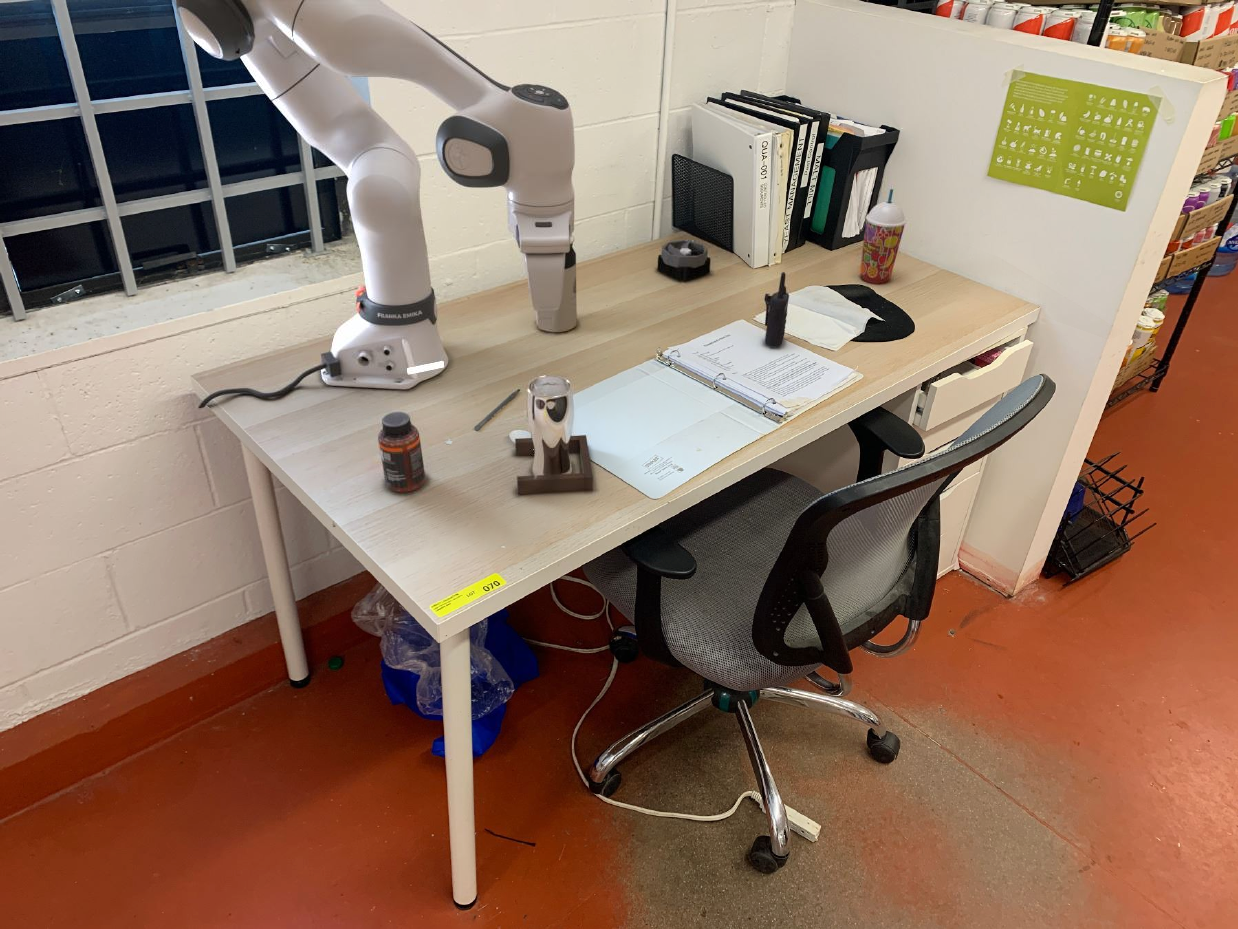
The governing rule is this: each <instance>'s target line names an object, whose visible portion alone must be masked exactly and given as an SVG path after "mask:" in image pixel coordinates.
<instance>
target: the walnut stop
mask: <svg viewBox="0 0 1238 929" xmlns="http://www.w3.org/2000/svg"><path fill="white" fill-rule="evenodd" d="M514 444H515V445H514V446H515V456H519V457H520V456H534V450H533V449H534V446H533V442H532V438H531V437H522V438H521V437H519V438H514ZM574 453H579V459H580V468H581V472H576V473H575V472H571V474H554V475H536V476H535V475H521V476H519V475H518V476H516V486H517V494H518V495H531V494H548V493H549V494H551V493H567V492H568V493H569V492H581V491H582V492H583V491H585V492H587V491H594V474H593V469H592V463H591V457H590V451H589V444H588V439H587V434H579V435H571V438H570V444H569V454H574Z"/></svg>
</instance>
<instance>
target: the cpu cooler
mask: <svg viewBox="0 0 1238 929" xmlns="http://www.w3.org/2000/svg"><path fill="white" fill-rule="evenodd" d="M708 250H709V249H708V248H707V247H706V246H705V244H703V243H700V242H699V241H696V240H694V239H686V238H684V239H680V240H670V241H668V242H666V243H664V244H662V245H661V253H660V254H658V257H657V268H656V270H657V271H658V272H660V273H661V274H664V275H666V276H668V277H671V278H673V279H675V280H676V281H678V282H681V281H684V282H687V281H691V280H694V279H696V278H700V277H702V276H706V275H708V274H710V271H711V257H708Z"/></svg>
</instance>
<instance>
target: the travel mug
mask: <svg viewBox="0 0 1238 929" xmlns="http://www.w3.org/2000/svg"><path fill="white" fill-rule="evenodd" d="M574 242H575V237H574V235H573V234H572V235H571V238H570V251H569V252H567V253H565V267H564V278H563V288H562V298H561V303H560V307H559V309H558V310H552V316H551V328H550V329H542V330H543V331H546V332H549V333H564V332H568V331H570V330H572V329H574V328H575V327H577V324H578V323H577V322H578V321H577V312H578V311H577V253H576V251H575V249H574V248H573V245H574ZM535 316H536V317H535V318H536V320H535V321H536V326H537V327H538V314H537V311H536V310H535Z"/></svg>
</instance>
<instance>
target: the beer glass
mask: <svg viewBox="0 0 1238 929" xmlns="http://www.w3.org/2000/svg"><path fill="white" fill-rule="evenodd" d="M526 419H527V426H528V430H529V433H530V438H532V442H533V446H534V455H533V462H532V474H533V476H536V475H554V474H572V471H573V466H572V462H571V456H570V453H569V444H570V438H571V436H572V432H573V427H574V420H575V402H574V392H573V383H572V382H571V381H570V380H569V379H568V378H567V377H564V376H561V375H557V374H544V375H540V376H536V377H534V378H532V379H531V380H529V381H528V383H527V386H526Z"/></svg>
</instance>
